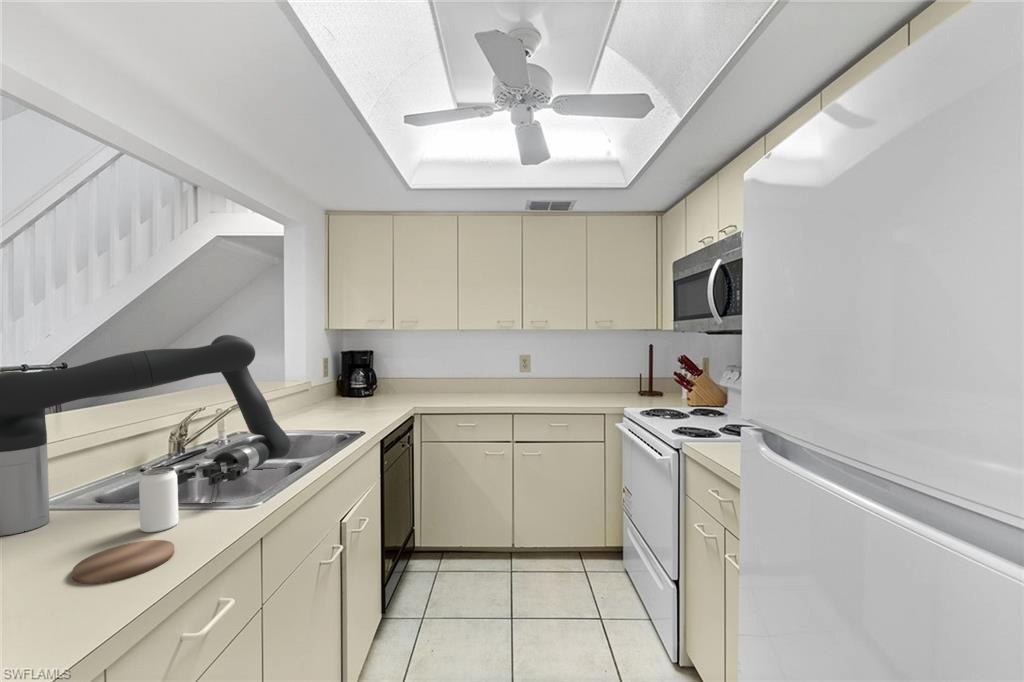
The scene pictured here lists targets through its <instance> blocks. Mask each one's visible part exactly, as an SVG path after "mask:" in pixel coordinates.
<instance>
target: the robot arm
mask: <svg viewBox="0 0 1024 682" xmlns="http://www.w3.org/2000/svg"><path fill="white" fill-rule="evenodd" d="M255 357H256V350H255V347H254V346H253V344H252V343H251V342H250V341H248V340H247V339H245V338H243V337H240V336H236V335H231V334H224V335H220V336H217V337H216V338H215V339H213V340H212V342H211V343H210V344H209V345H203V346H198V347H192V348H191V347H189V348H188V347H187V348H157V349H154V348H153V349H146V350H139V351H133V352H127V353H121V354H117V355H112V356H109V357H103V358H101V359H96V360H93V361H90V362H87V363H83V364H80V365H75V366H72V367H66V368H60V369H59V368H58V369H51V370H50V369H49V370H42V371H41V370H40V371H29V372H26V371H21V370H20V371H19V370H18V371H17V370H16V371H15V370H14V371H5V372H1V373H0V536H1V537H2V536H8V535H9V536H10V535H15V534H19V533H24V531H25V532H28V531H32V530H35V529H38V528H40V527H43V526H45V525H46V524H48V523H49V522H50V519H51V518H50V488H49V485H50V484H49V459H48V434H47V432H48V430H47V424H46V409H48V408H52V407H55V406H59V405H63V404H66V403H70V402H74V401H78V400H83V399H90V398H98V397H104V396H105V397H106V396H107V397H108V396H112V395H113V396H114V395H119V394H124V393H131V392H135V391H140V390H145V389H149V388H155V387H158V386H162V385H167V384H171V383H174V382H179V381H183V380H186V379H190V378H194V377H198V376H204V375H210V374H211V375H212V374H217V373H221V375H222V376H223V378H224V380H225V382H227V385H228V386H229V387H228V388H230V391H231V392H232V394H233V396H234V398H235V402H236V404H237V406H238V408H239V410H240V413H241V415H242V417H243V420H244V422H245V424H246V427H247V429H248V431H249V433H251V434H252V435H259V437H257V438H254V439H253V440H251V441H250V442H248V443H246V444H244V445H239V446H236V447H234V448H231V449H228V450H225V451H223V452H221V453H218V454H217V455H216V456H215V457H214V459H213V460H212V461H211V462H207V463H206V464H200V463H195V464H192V465H188V466H186V467H184V468H181V469H179V470H178V473H177V483H178V486H179V485H183V484H185V483H187V482H189V481H197V482H198V481H203V480H208V486H214V485H217V484H219V483H221V482H230V481H232V482H234V481H237V480H238V479H240V478H243V477H244V476H247V475H248V473H249V472H250V471H252V470H253V469H255V468H257V467H260V466H261V465H263V464H264V463H266V462H267V461H269V460H273V459H275V460H276V459H279V458H280V459H281V458H284V457H286V456H287V455H288V454H289V453H290V451H291V441H290V438H289V437H288V435H287V434H286V432H285V431H284V430H283V429H282V428H281V427H280V425H279V424H278V423H277V422H276V420H275V419H274V416H273V413H272V411H271V409H270V407H269V405H268V403H267V400H266V399H265V397H264V395H263V392H261V391H260V388H258V386H257V384H256V382H255V381H254V379H253V377H252V376H251V375H252V374H250V370H249V368H248V367H249V366H250V365H251V364H252V363H253V361H254V360H255ZM201 472H202V476H200V475H201V474H200V473H201Z"/></svg>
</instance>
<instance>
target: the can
mask: <svg viewBox="0 0 1024 682" xmlns="http://www.w3.org/2000/svg"><path fill="white" fill-rule="evenodd" d="M175 469H176V468H175V467H173V466H162V467H156V468H151V469H147V470H144V471H142V472H141V473H140V474H141V477H140V479H139V480H138V488H139V489H138V490H139V491H138V492H139V493H138V494H139V496H138V497H139V523H140V525H139V526H140V527H139V528H140V530H141V532H143V533H144V534H145V533H146V534H151V533H153V534H154V533H160V532H164V531H168V530H170V529H173V528H174V527H175V525H176V526H177V524H178V523H179V496H178V495H179V488H178V486H179V485H178V483H177V475H178V473H176V471H175Z"/></svg>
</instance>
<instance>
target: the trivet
mask: <svg viewBox="0 0 1024 682" xmlns="http://www.w3.org/2000/svg"><path fill="white" fill-rule="evenodd" d="M173 554H174V555H175V544H174V543H173V542H171V541H168V540H164V539H148V540H139V541H134V542H130V543H125V544H120V545H116V546H113V547H110V548H107V549H104V550H102V551H99V552H96V553H94V554H92V555H89V556H88V557H86V558H84V559H82V560H80V561H79V562H78V563H76V564H75V565H74V567H73V568H72V570H71V571H72V574H71V575H72V579H74V580H75V581H74V580H73V581H74V582H76V581H77V582H76V583H79V582H82V583H81V584H85V583H95V584H100V583H99V582H105V583H109V582H108V581H112V582H116V581H115V580H117V581H120V579H121V580H124V579H129V578H132V577H136V576H138V575H141V574H144V573H146V572H149V571H151V570H154V569H156V568H158V567H160V566H161V565H163V564H165V563H166V562H168V561H169V560H170V559H171V558H172V557H173V556H174V555H173Z"/></svg>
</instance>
